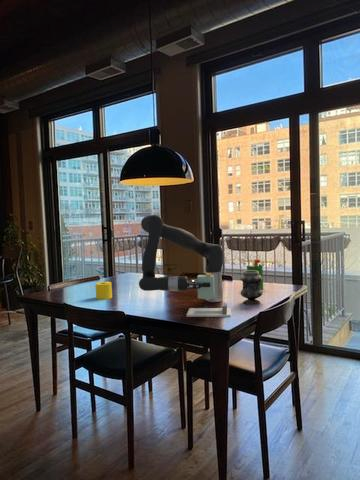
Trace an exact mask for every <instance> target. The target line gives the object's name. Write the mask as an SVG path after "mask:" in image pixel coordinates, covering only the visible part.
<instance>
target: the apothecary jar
mask: <svg viewBox="0 0 360 480" xmlns="http://www.w3.org/2000/svg"><path fill="white" fill-rule="evenodd" d="M261 280H262V277H261V276H260V275H259V271H255V270H247V269H246V270H243V274H241V276H240V281H241V282H242V289H241V290H240V293H239V294H240V295H241V297H243V298H244V299H245V300H243V302H242V304H244V305H249V306H252V305H253V306H256V305H260V304H261V303H262V301H260V300H259V299H258V298H261V297H262V295H263V290H260V281H261Z"/></svg>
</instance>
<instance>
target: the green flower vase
mask: <svg viewBox="0 0 360 480" xmlns="http://www.w3.org/2000/svg"><path fill="white" fill-rule="evenodd" d="M259 263H260V259H259V258H256V259H254V262H253V265H246V270H255V271H259V275H260V276H261V277H262V280H261V281H260V290H261V291H263V290H264V272H263V271H264V269H263V264H259Z"/></svg>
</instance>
